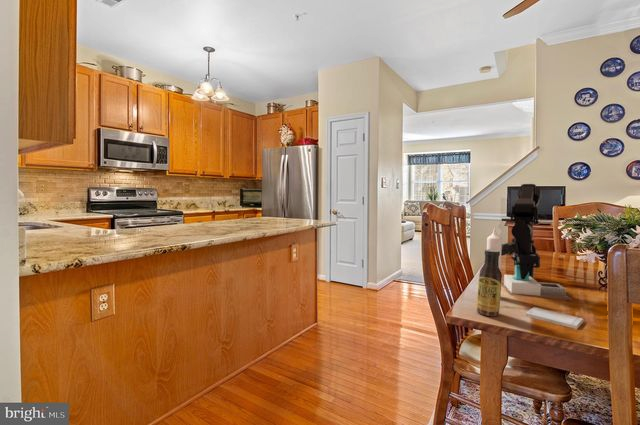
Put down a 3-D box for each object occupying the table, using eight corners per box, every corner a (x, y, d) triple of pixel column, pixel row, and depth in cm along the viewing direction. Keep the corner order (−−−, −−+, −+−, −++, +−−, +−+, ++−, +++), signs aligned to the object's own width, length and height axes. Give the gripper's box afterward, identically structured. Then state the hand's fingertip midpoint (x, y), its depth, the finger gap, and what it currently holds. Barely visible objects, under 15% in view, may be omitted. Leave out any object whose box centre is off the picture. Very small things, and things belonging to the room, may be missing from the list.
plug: (514, 282, 123) (514, 264, 122) (526, 283, 122) (527, 265, 121) (516, 285, 120) (516, 266, 120) (528, 286, 119) (529, 267, 118)
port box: (503, 284, 128) (504, 274, 128) (530, 286, 125) (530, 276, 125) (511, 293, 117) (511, 282, 116) (540, 295, 114) (540, 284, 113)
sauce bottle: (473, 313, 99) (475, 249, 98) (480, 308, 104) (482, 247, 103) (496, 319, 95) (498, 252, 94) (503, 314, 99) (505, 250, 98)
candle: (500, 296, 116) (503, 227, 114) (506, 303, 109) (509, 229, 107) (479, 295, 118) (481, 227, 116) (483, 301, 111) (485, 229, 109)
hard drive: (525, 312, 98) (577, 325, 88) (534, 306, 103) (583, 317, 93) (525, 317, 98) (576, 331, 88) (534, 311, 103) (583, 323, 94)
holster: (533, 288, 122) (534, 281, 122) (558, 290, 120) (558, 283, 120) (539, 293, 116) (540, 286, 116) (565, 295, 114) (565, 288, 113)
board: (501, 285, 130) (501, 282, 130) (555, 289, 124) (555, 287, 124) (511, 297, 115) (511, 294, 115) (573, 303, 109) (573, 300, 109)
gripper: (493, 232, 131) (492, 270, 132) (504, 238, 113) (502, 282, 114) (525, 233, 128) (523, 272, 128) (541, 240, 110) (539, 285, 111)
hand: (521, 277), depth 121 cm, fingers closed on plug, 3 cm apart
